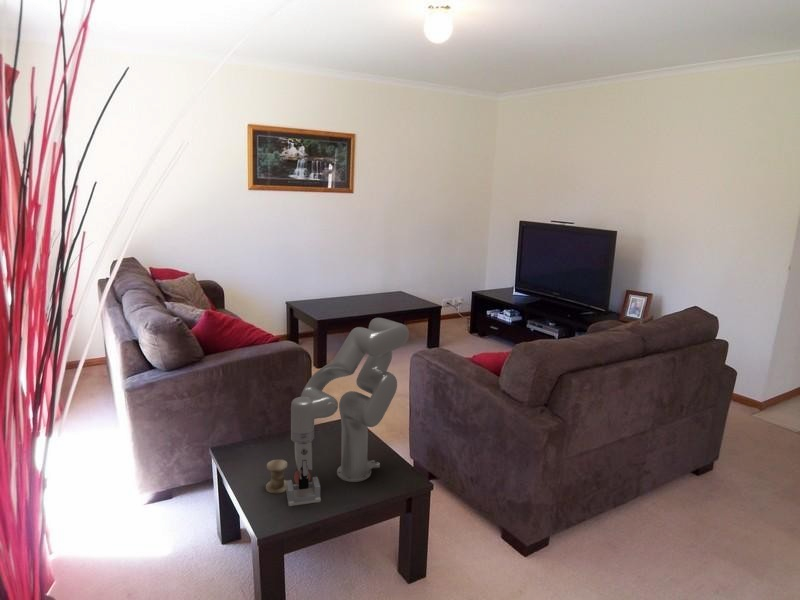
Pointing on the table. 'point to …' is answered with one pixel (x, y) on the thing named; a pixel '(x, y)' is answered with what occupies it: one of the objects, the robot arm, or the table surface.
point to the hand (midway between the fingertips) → (302, 483)
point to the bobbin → (276, 476)
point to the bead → (297, 476)
